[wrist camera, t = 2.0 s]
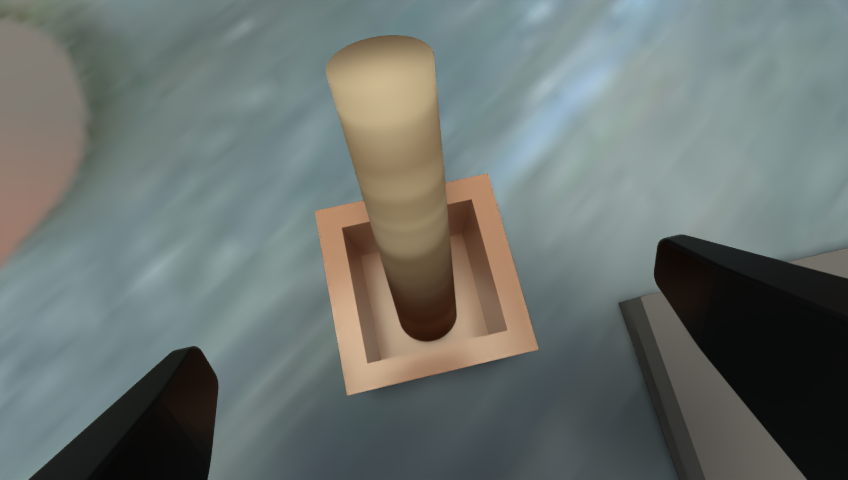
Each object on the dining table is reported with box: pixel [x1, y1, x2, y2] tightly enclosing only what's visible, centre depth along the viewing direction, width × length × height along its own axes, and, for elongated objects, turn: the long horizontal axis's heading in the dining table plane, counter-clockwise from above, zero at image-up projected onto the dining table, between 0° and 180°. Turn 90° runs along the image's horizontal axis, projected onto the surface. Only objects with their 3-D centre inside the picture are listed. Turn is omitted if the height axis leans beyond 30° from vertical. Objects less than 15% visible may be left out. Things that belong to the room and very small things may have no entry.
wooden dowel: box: [326, 35, 457, 341], centre depth 14 cm, size 6×2×11 cm, turn 13°
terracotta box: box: [315, 174, 539, 395], centre depth 17 cm, size 6×6×5 cm
